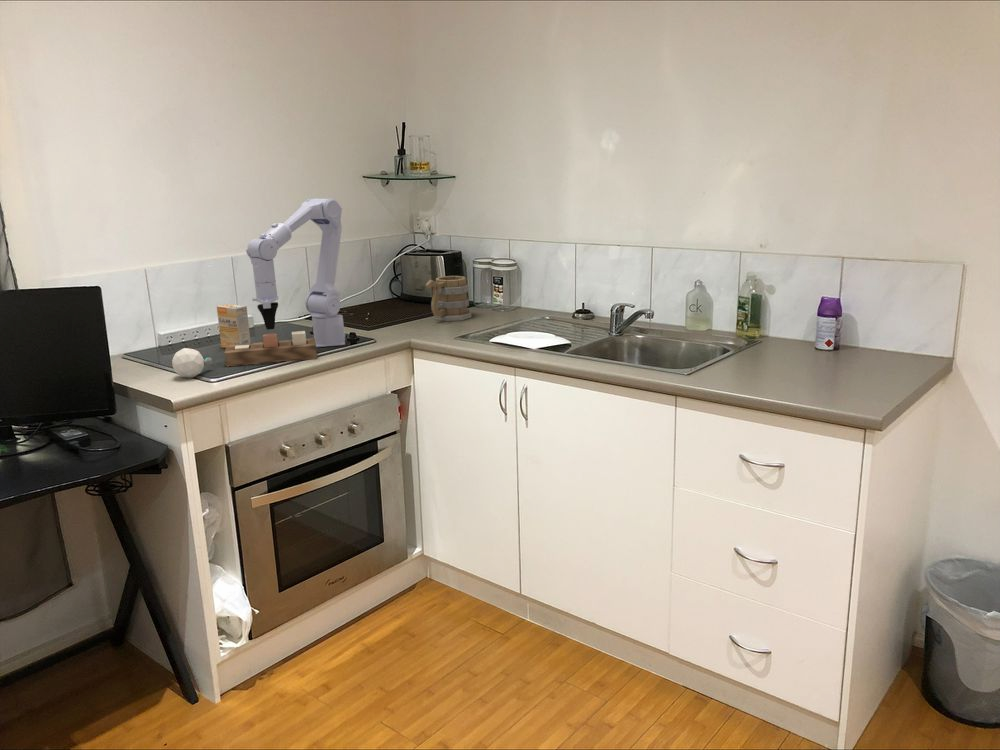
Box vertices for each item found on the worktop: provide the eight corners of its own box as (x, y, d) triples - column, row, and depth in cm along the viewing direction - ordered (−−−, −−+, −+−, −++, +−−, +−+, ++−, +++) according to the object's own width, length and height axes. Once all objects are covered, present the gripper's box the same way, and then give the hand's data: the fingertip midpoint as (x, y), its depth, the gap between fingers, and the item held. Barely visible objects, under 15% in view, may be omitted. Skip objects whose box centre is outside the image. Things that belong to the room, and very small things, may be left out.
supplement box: (220, 348, 249) (215, 306, 245) (232, 344, 253) (227, 303, 250) (240, 350, 245) (235, 307, 242) (252, 347, 249) (247, 305, 246)
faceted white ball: (160, 365, 215) (194, 360, 226) (179, 386, 213) (213, 379, 224) (172, 343, 212) (206, 339, 223) (192, 363, 210) (225, 358, 221)
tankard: (450, 312, 293) (448, 271, 288) (477, 316, 285) (476, 273, 281) (413, 323, 277) (410, 279, 273) (441, 326, 270) (439, 282, 266)
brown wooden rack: (315, 351, 242) (314, 337, 240) (317, 358, 232) (316, 345, 231) (228, 358, 236) (226, 345, 235) (226, 366, 226) (224, 353, 225)
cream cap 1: (250, 357, 234) (249, 344, 233) (250, 360, 231) (248, 347, 230) (236, 358, 233) (235, 345, 232) (236, 361, 230) (234, 348, 229)
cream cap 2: (306, 343, 237) (305, 330, 236) (306, 346, 234) (305, 333, 233) (292, 344, 236) (291, 332, 235) (293, 347, 233) (291, 334, 232)
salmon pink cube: (278, 345, 235) (276, 333, 234) (278, 348, 232) (276, 335, 231) (264, 346, 234) (263, 334, 233) (264, 349, 231) (262, 337, 230)
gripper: (251, 278, 234) (257, 324, 238) (249, 286, 220) (255, 335, 224) (276, 277, 235) (281, 322, 239) (275, 284, 222) (281, 333, 226)
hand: (270, 328), depth 232 cm, fingers closed
